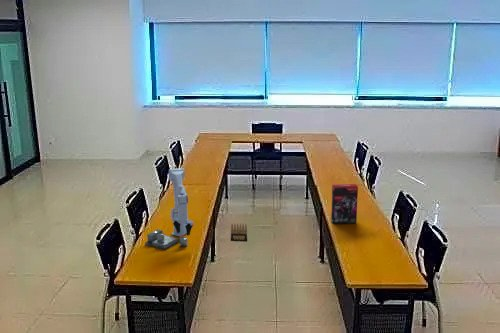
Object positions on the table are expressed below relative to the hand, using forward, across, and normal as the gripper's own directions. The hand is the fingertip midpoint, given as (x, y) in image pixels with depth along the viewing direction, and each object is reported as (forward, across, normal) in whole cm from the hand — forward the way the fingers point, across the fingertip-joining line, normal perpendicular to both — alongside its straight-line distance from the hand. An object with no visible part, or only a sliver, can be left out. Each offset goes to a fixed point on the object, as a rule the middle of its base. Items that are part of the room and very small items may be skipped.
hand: (183, 233), depth 328 cm
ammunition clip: (+8, +26, +24) cm, 36 cm away
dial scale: (+8, -14, -4) cm, 17 cm away
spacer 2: (+8, 0, 0) cm, 8 cm away
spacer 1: (+6, -12, -7) cm, 15 cm away
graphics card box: (+8, +73, +88) cm, 115 cm away
